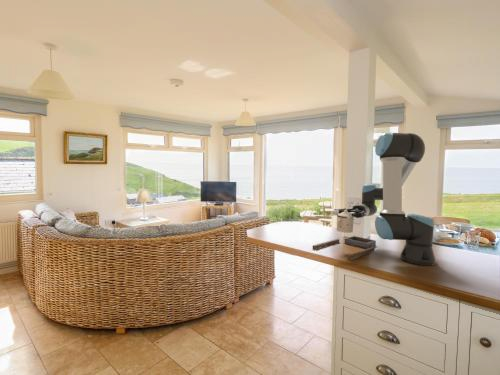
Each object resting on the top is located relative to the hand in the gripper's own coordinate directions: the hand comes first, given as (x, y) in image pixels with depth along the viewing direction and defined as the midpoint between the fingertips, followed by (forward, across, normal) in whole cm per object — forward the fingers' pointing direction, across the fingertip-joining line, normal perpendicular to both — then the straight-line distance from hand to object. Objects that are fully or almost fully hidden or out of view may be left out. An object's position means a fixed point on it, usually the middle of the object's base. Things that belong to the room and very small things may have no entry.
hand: (339, 214), depth 153 cm
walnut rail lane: (-6, 0, -21) cm, 21 cm away
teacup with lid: (-5, 0, -10) cm, 11 cm away
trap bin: (-25, 0, -21) cm, 32 cm away
